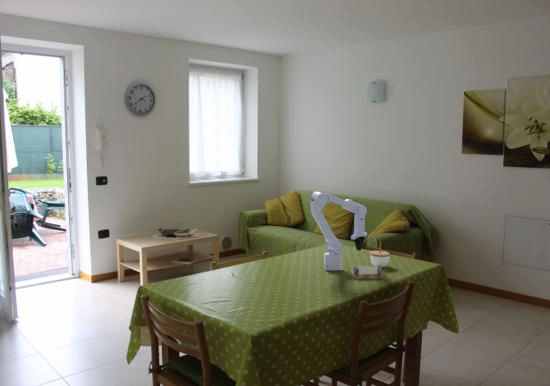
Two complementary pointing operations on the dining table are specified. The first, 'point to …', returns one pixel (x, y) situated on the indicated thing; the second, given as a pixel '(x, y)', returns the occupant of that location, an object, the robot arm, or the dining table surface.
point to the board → (364, 275)
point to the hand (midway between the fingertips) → (358, 250)
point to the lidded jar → (379, 258)
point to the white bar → (368, 269)
